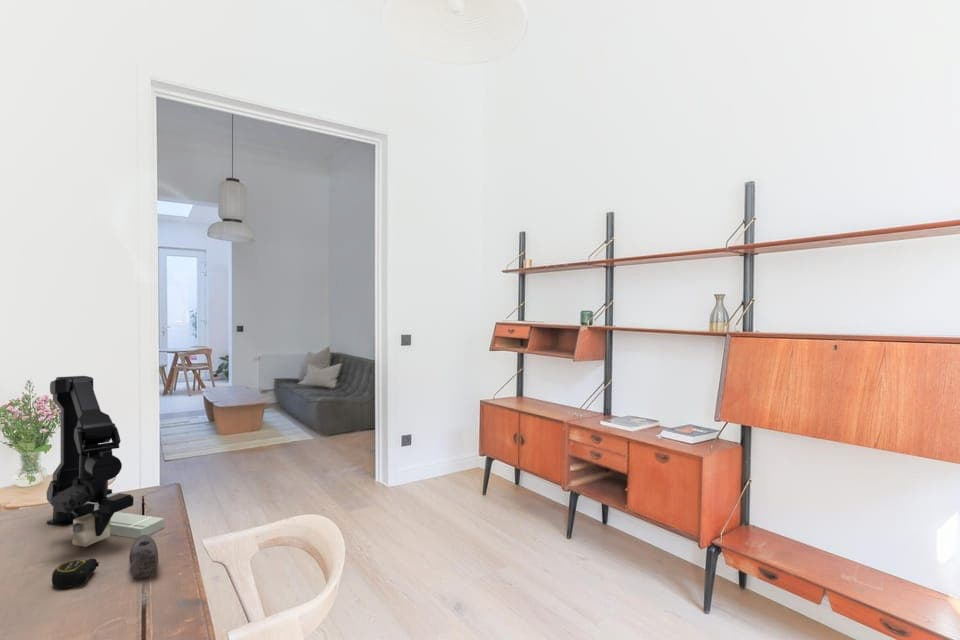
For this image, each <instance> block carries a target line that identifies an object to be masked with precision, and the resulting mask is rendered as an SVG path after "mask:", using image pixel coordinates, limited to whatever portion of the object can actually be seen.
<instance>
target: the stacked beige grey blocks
mask: <svg viewBox="0 0 960 640" xmlns="http://www.w3.org/2000/svg"><path fill="white" fill-rule="evenodd" d="M110 536H111V534H110V521H109V522H108V524H107V526H106V528H105V530H104V531H103V533H102V535H100V536H96V532H95V517H94V516H93V515H92V514H87V515H84V516H82V517H79V518H76V519H74V520H73V523H72V545H74V546H78V547H79V546H80V547H85V548H86V547H88V546H90V545H92V544H94V543H97V542H99V541H102V540H104V539H107V538H109V537H110Z"/></svg>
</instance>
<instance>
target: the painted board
mask: <svg viewBox="0 0 960 640" xmlns="http://www.w3.org/2000/svg"><path fill="white" fill-rule="evenodd" d="M162 529H165V518H163V517H156V516H150V515H149V516H148V515H144V514H143V515H142V514H137V513H136V514H135V513H128V512H121V511H118V512H115V513H114V514H113V516H112V517H111V519H110V535H112V536H118V537H119V536H120V537H125V538H132V539H137V538H138V537H140V536H142V535H148V536H150V535H152V534H154V533H156V532H158V531H160V530H162Z"/></svg>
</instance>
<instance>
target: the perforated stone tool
mask: <svg viewBox="0 0 960 640" xmlns="http://www.w3.org/2000/svg"><path fill="white" fill-rule="evenodd" d="M128 560H129V565H130V568H129V569H130V573H131V575H132V576H133V577H134V578H136V579H142V578H149V577H152V576H153V575H155V573H156V572H157V569H158V566H159V552H158V546H157V543H156V541H155V540H154V539H153V537H151V536H150V535H142V536H140V537H138V538H135V540H134V542H133V543H132V545H131V547H130V549H129V559H128Z"/></svg>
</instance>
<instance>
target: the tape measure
mask: <svg viewBox="0 0 960 640" xmlns="http://www.w3.org/2000/svg"><path fill="white" fill-rule="evenodd" d="M99 563H100V561H97V559H96V558H88V559H84V558H83V559H82V558H79V559H73V560H70V561H69V560H68V561H65V562H63V563H61V564H59V565H57V566H56V567H55V568H54V570H53V571H52V574H51V584H52V586H53V587H55V588H61V589H62V588H63V589H64V588H65V589H66V588H69V587H70V588H71V587H74V586H79V585H83V584H85V583H86V581H87V580H88V579H89V577H90V576H91V575H92V574H93V573H94V572H95V571H96V569H97V568H98V567H99V566H100V565H99Z"/></svg>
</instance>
